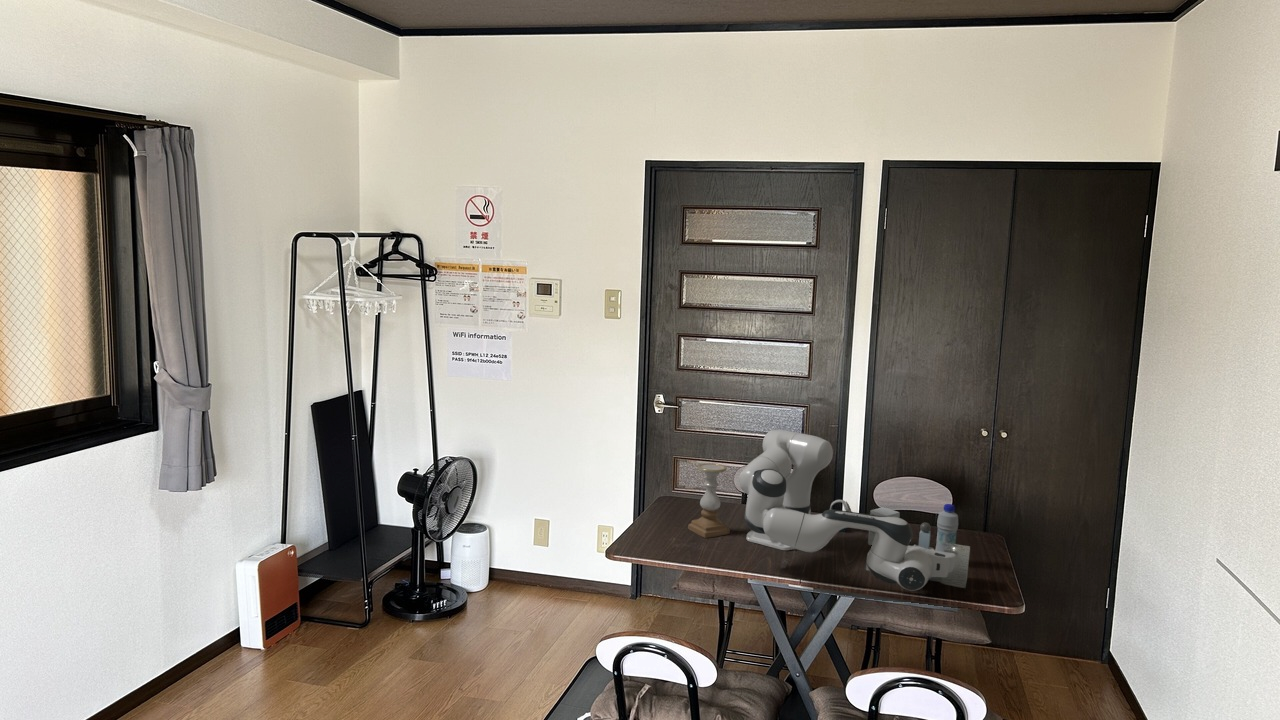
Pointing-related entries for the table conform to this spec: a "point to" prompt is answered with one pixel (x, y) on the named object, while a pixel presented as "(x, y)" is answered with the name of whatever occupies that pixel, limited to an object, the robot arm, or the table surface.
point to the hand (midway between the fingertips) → (923, 548)
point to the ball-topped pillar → (924, 536)
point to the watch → (844, 507)
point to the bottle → (946, 527)
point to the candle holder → (709, 505)
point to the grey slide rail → (961, 568)
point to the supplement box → (881, 512)
